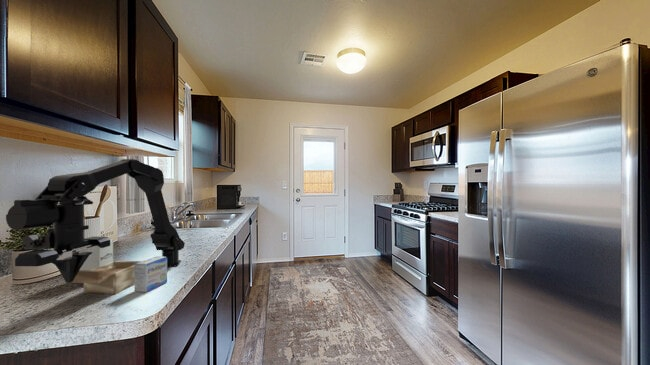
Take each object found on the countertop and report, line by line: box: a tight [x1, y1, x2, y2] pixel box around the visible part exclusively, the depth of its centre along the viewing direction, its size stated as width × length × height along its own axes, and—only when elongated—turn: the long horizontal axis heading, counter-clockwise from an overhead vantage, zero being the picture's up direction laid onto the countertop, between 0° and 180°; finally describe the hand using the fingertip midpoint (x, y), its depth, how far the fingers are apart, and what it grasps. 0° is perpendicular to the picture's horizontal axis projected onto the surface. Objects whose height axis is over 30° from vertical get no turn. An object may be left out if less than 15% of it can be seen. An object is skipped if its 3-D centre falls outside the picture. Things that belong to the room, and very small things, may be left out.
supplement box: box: [80, 239, 114, 270], centre depth 86 cm, size 7×7×13 cm
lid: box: [69, 268, 124, 284], centre depth 74 cm, size 10×9×3 cm
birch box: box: [83, 260, 143, 295], centre depth 80 cm, size 11×10×6 cm
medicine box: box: [134, 255, 168, 293], centre depth 79 cm, size 8×4×9 cm, turn 168°
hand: (69, 282), depth 66 cm, fingers closed
